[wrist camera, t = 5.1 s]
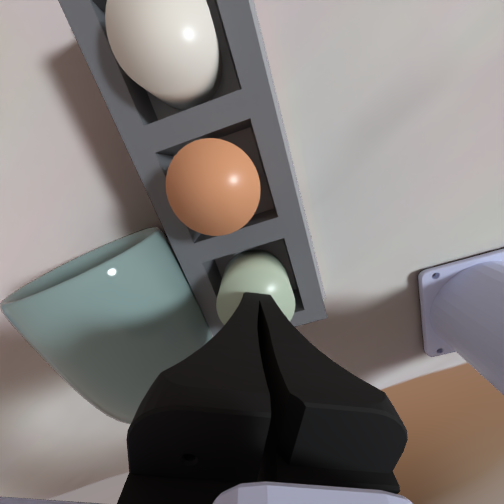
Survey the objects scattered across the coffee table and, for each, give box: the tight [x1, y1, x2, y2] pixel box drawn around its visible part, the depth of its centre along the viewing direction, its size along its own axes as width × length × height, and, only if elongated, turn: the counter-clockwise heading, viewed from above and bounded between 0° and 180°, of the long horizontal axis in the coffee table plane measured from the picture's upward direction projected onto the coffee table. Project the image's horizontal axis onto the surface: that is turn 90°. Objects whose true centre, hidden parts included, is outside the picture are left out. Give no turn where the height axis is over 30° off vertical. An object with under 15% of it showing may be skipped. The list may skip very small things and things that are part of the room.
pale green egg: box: [216, 249, 295, 325], centre depth 13 cm, size 4×4×3 cm
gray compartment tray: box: [58, 0, 327, 336], centre depth 13 cm, size 8×20×3 cm, turn 18°
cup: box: [0, 227, 213, 424], centre depth 14 cm, size 8×8×10 cm
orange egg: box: [166, 138, 261, 236], centre depth 11 cm, size 4×4×3 cm
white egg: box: [105, 0, 222, 110], centre depth 10 cm, size 4×4×3 cm
